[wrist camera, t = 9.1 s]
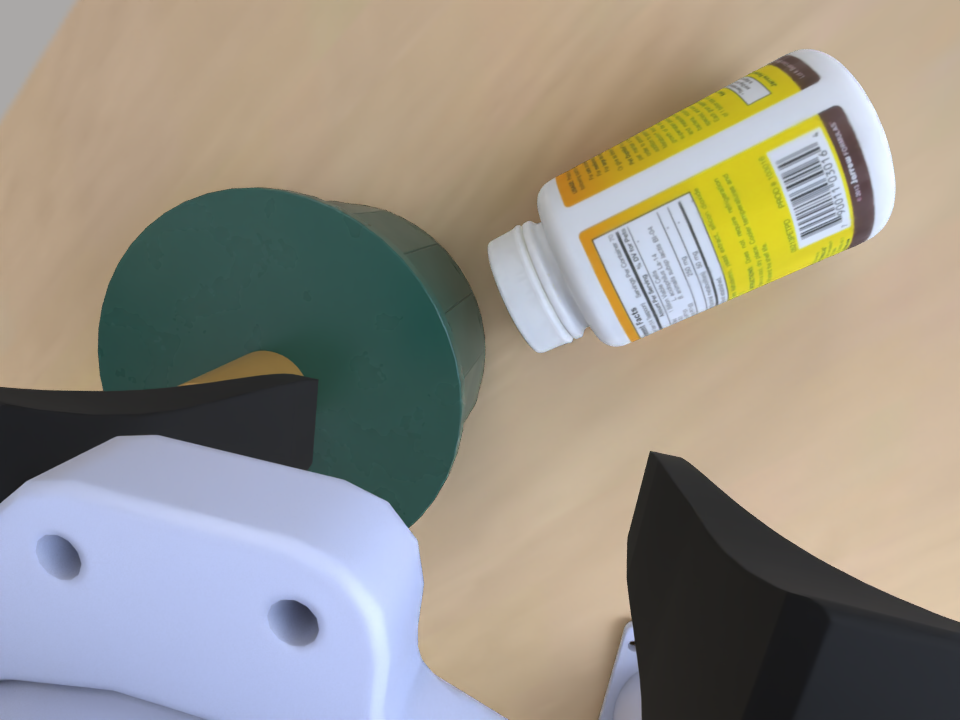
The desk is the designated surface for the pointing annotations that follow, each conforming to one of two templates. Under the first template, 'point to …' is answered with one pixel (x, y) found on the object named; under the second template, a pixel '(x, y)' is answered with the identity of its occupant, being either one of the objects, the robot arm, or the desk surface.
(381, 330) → the lid
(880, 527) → the desk surface
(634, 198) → the supplement bottle
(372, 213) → the tin
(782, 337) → the desk surface
